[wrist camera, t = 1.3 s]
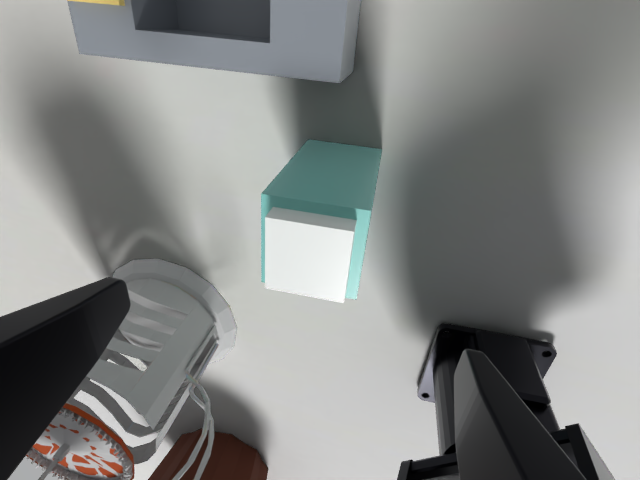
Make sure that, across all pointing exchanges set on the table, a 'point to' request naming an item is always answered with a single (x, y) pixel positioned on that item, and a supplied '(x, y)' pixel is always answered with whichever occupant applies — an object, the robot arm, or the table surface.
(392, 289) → the table surface
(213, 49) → the port block
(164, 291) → the french press
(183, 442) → the muffin
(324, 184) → the teal rectangular block
